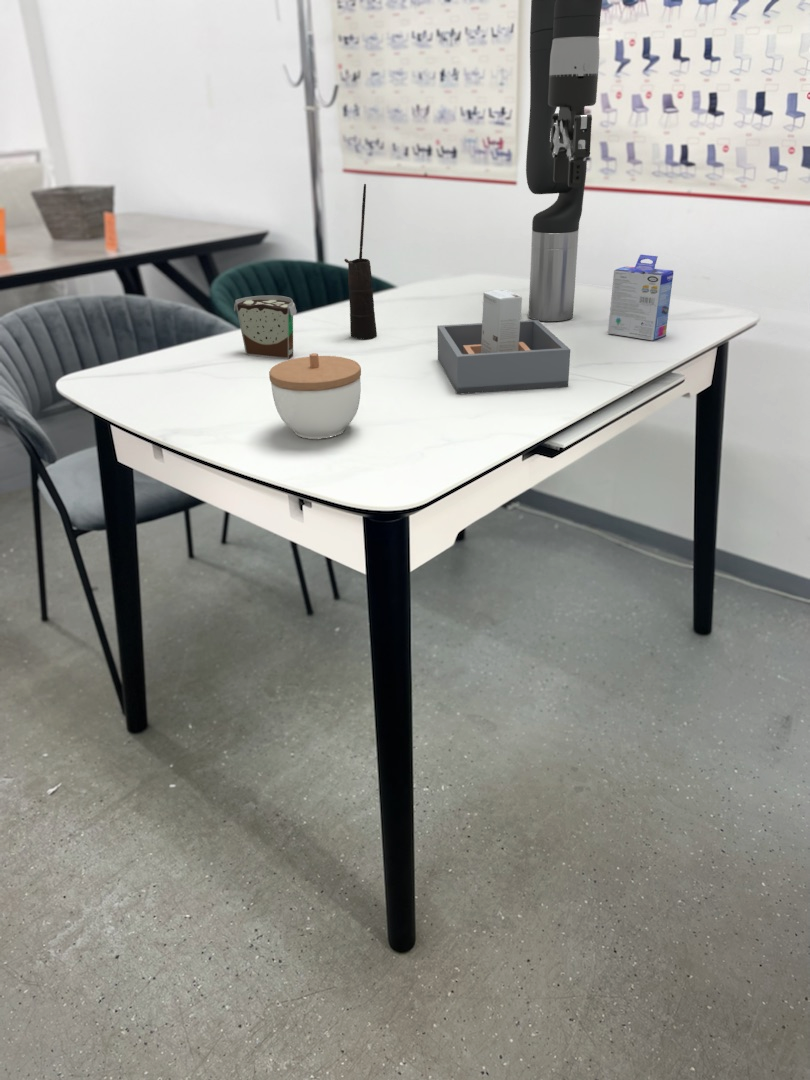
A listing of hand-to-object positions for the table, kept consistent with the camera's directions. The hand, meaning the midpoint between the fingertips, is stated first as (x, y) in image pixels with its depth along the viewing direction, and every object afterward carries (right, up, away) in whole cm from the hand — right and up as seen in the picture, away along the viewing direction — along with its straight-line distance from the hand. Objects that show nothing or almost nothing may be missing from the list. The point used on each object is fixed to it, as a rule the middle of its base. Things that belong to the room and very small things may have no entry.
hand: (567, 184), depth 137 cm
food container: (-51, -24, +18) cm, 59 cm away
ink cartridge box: (+18, -20, +22) cm, 34 cm away
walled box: (-11, -30, +3) cm, 32 cm away
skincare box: (-11, -30, +3) cm, 32 cm away
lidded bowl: (-39, -43, -19) cm, 61 cm away
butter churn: (-36, -19, +27) cm, 49 cm away
